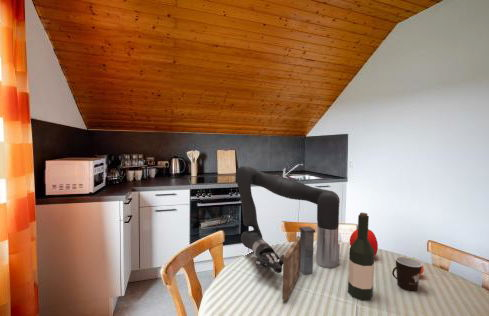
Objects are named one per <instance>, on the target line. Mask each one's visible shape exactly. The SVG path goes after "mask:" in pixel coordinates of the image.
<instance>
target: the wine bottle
mask: <svg viewBox="0 0 489 316" xmlns="http://www.w3.org/2000/svg"><path fill="white" fill-rule="evenodd" d="M369 217H370V216H369V215H368V213H366V212H360V213H359V214H358V218H357V229H358V237H357V239H356V240H355V242H354V243H353V244H352V246H350V247H349V254H348V255H349V257H348V259H349V260H348V279H347V281H348V282H347V283H348V284H347V293H348V294H349V295H350V297H352V298H353V299H356V300H359V301H371V300H372V298H373V297H374V296H373V294H374V277H375V275H374V274H375V272H374V271H375V256H376V255H375V251H374V249H373V247H372V246H371V244H370V242H369V240H368V229H369Z"/></svg>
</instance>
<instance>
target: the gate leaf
mask: <svg viewBox="0 0 489 316" xmlns="http://www.w3.org/2000/svg"><path fill="white" fill-rule="evenodd" d="M283 255H284V257H283V266H282V291H281V292H282V293H281V295H282V296H281V297H282V298H281V300H283V301H288V299H289V297H290V295H291V293H292V292H293V291H292V290H293V288H294V287H295V284H296V281H297V280H298V278H299V275H300V273H301V272H300V260H301V237H300V236H296V237H295V239H294V240H293V242H292V243H291V245H290V246H289V248H288V249H287V251H286V253H284V254H283Z"/></svg>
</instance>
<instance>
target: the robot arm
mask: <svg viewBox="0 0 489 316" xmlns="http://www.w3.org/2000/svg"><path fill="white" fill-rule="evenodd" d="M235 180H236V184H237V189H238V192H239V197H240V205H241V211H242V212H241V213H242V220H243V225H244V226H245V227H251V228H253V230H252V229H251V230H245V231H243V232H242V233H241V235H240V240H241V243H242V245H243V246H244V247H246V248H248V249H249V250H251V251H252V252H253V254H254V255H255V257H256V261H255V264H256V266H257V267H261V268H264V269H267V270H269V269H270V270H271V269H272V270H273V271H274V272H275V273H276V274H280V273H281V274H282V272H283V257H284V255H285V254H281V255H279V254H278V253H276V251H275V250H274V248H273V247H272V246H271V245H270V244H269V243H268V242H266V240H264V239H263V234H262V231H261V229H260V227H259V223H258V218H257V208H256V204H255V201H254V198H253V195H252V194H253V193H252V185H253V186H257V187H260V188H264V189H265V190H267V191H268V192H271V193H272V194H275V195H277V196H280V197H283V198H286V199H289V200H297V201H305V202H310V203H312V204H314V205H316V221H317V223H316V224H317V225H316V228H317V229H316V255H315V256H316V257H315V259H316V260H315V262H316V264H317V265H318V266H319V267H323V268H329V269H333V268H336V267H337V266H339V265H340V250H341V246H340V245H341V244H340V243H339V225H340V222H339V221H340V220H339V219H340V202H341V201H340V200H341V199H340V197H339V195H338V194H337V193H336V192H335V191H332V190H330V189H329V190H328V189H322V188H317V187H313V186H310V185H307V184H305V183H302V182H300V181H296V180H293V179H292V178H288V177H284V176H279V175H275V174H270V173H266V172H263V171H260V170H257V169H256V168H253V167H252V166H246V165H245V166H240V167H238V168H237V170H236V172H235Z"/></svg>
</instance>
